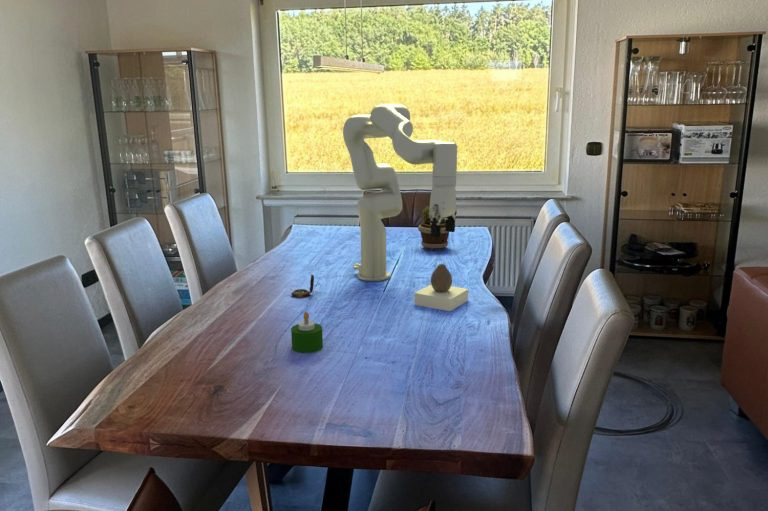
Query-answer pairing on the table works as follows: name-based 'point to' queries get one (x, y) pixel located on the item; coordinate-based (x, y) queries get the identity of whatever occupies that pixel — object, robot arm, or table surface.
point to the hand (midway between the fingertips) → (442, 234)
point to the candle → (306, 336)
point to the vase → (441, 279)
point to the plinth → (441, 298)
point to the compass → (304, 292)
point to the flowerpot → (425, 230)
